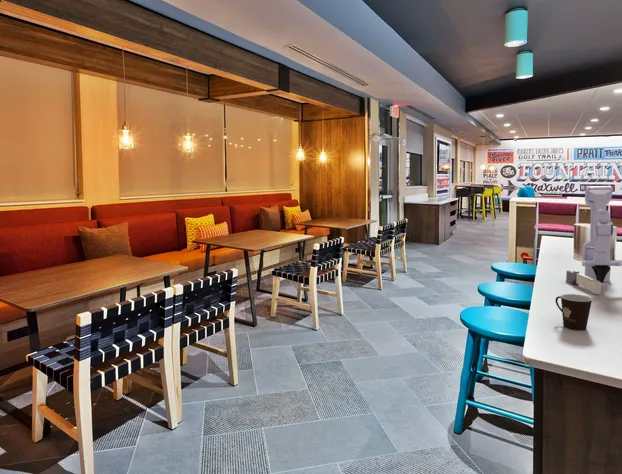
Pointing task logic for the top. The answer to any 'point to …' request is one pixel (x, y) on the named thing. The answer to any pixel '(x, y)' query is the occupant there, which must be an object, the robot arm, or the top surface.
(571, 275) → the gate post
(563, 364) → the top surface
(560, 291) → the top surface
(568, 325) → the coffee mug
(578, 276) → the gate
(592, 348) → the top surface
